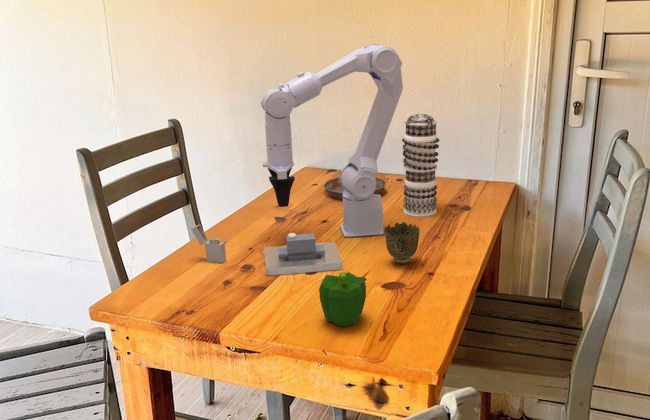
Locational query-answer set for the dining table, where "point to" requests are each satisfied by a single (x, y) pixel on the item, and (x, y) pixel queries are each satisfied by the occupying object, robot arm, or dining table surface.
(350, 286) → the bell pepper
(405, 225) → the cup
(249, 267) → the dining table surface
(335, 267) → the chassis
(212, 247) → the lighter
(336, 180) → the plant saucer
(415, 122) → the decorative candle
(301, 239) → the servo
